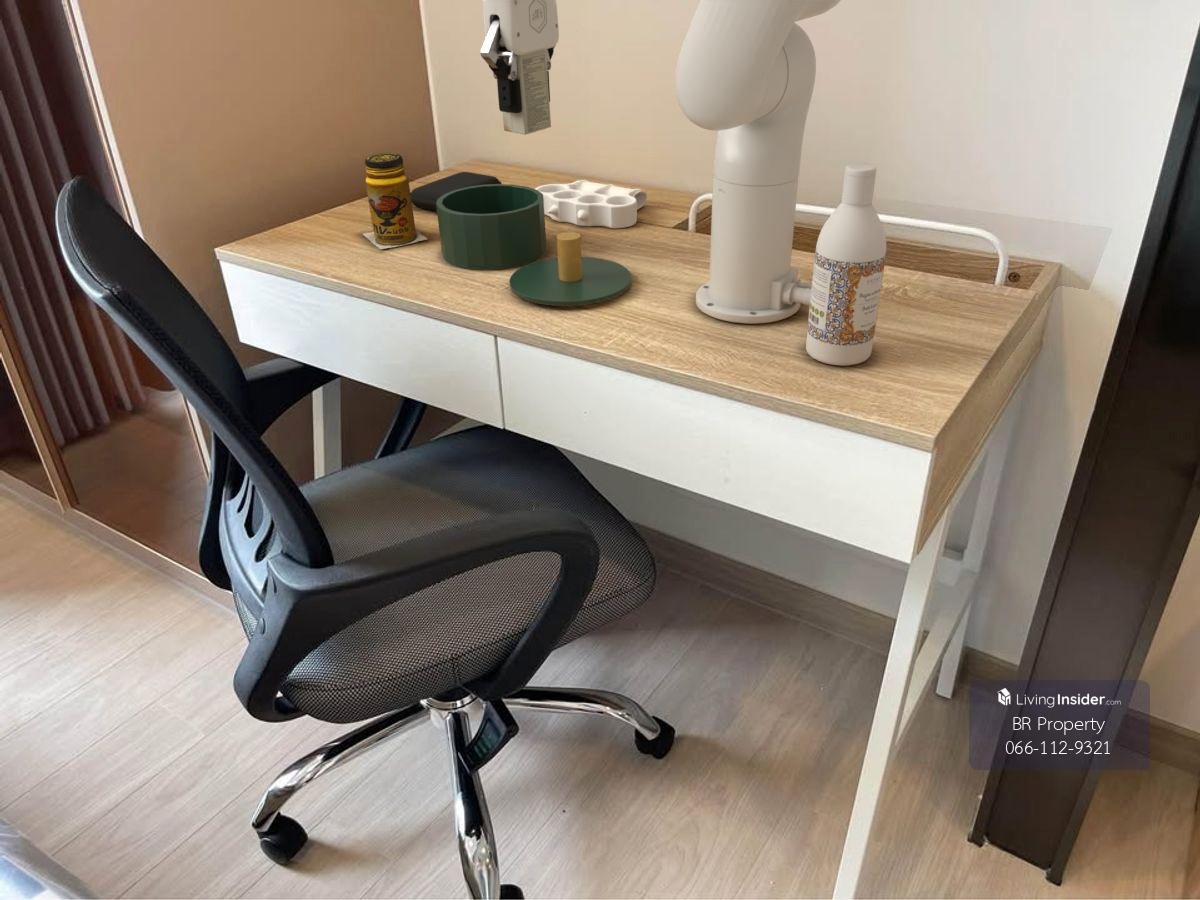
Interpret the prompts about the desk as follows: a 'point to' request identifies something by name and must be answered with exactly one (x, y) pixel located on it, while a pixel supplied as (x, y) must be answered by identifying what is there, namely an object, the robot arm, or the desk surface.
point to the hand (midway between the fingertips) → (525, 105)
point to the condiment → (390, 202)
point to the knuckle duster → (592, 203)
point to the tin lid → (570, 277)
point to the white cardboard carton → (530, 95)
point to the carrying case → (447, 188)
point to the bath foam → (847, 275)
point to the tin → (492, 226)
